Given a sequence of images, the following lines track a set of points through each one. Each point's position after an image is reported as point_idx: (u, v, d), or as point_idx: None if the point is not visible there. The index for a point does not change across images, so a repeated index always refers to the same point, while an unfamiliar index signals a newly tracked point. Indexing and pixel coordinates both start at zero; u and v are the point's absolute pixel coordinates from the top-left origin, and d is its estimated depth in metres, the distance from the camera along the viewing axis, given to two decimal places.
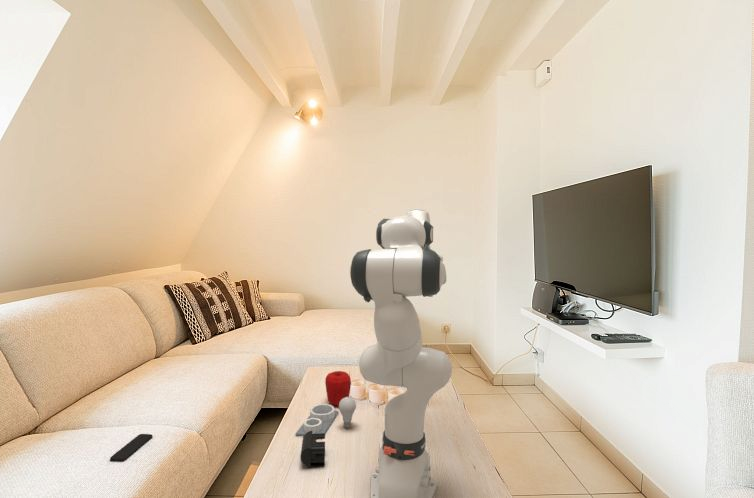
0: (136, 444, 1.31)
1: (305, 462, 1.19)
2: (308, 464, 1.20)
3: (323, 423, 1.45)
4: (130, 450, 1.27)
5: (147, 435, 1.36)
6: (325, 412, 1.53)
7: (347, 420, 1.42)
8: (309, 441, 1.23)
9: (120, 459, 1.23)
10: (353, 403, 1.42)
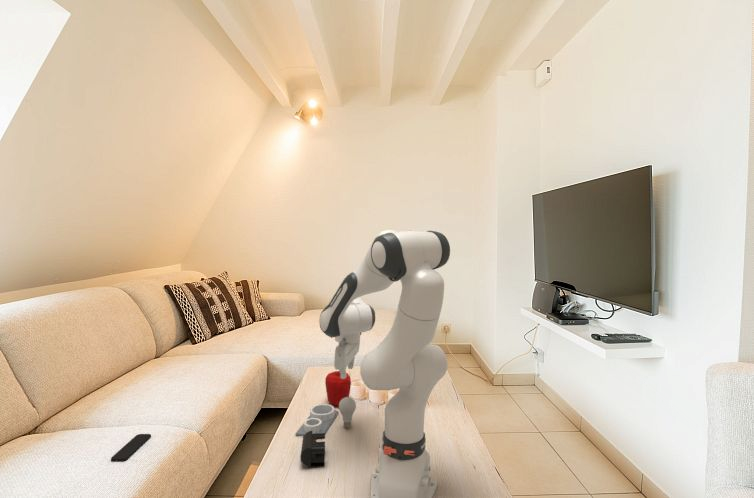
0: (136, 444, 1.31)
1: (305, 462, 1.19)
2: (308, 464, 1.20)
3: (323, 423, 1.45)
4: (130, 450, 1.27)
5: (145, 434, 1.36)
6: (325, 412, 1.53)
7: (347, 420, 1.42)
8: (309, 441, 1.23)
9: (122, 459, 1.23)
10: (353, 403, 1.42)
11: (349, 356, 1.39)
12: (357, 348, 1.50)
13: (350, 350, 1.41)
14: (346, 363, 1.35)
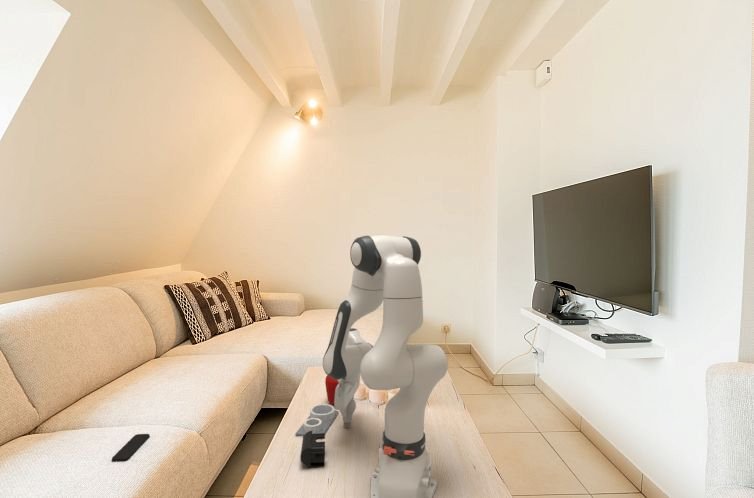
0: (135, 444, 1.31)
1: (305, 462, 1.19)
2: (308, 464, 1.20)
3: (323, 423, 1.45)
4: (131, 450, 1.27)
5: (144, 434, 1.36)
6: (325, 412, 1.53)
7: (347, 420, 1.42)
8: (309, 441, 1.23)
9: (123, 459, 1.23)
10: (353, 403, 1.42)
11: (349, 395, 1.39)
12: (357, 385, 1.50)
13: (350, 388, 1.42)
14: (346, 403, 1.36)
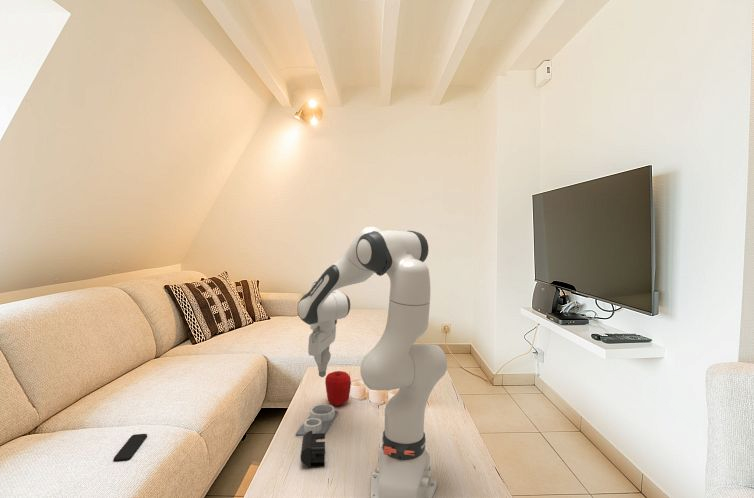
0: (135, 443, 1.31)
1: (305, 462, 1.19)
2: (308, 464, 1.20)
3: (323, 423, 1.45)
4: (131, 449, 1.28)
5: (141, 434, 1.36)
6: (325, 412, 1.53)
7: (322, 369, 1.48)
8: (309, 441, 1.23)
9: (125, 458, 1.23)
10: (328, 353, 1.48)
11: (323, 343, 1.45)
12: (333, 337, 1.56)
13: (325, 338, 1.47)
14: (320, 349, 1.41)
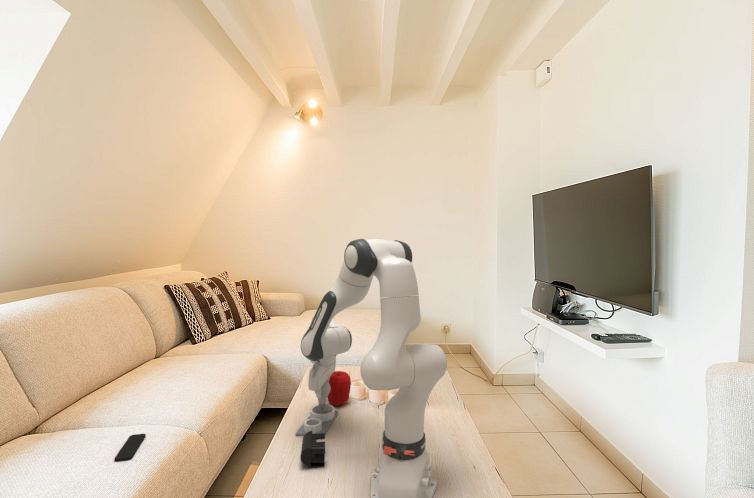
0: (134, 443, 1.31)
1: (305, 462, 1.19)
2: (308, 464, 1.20)
3: (323, 423, 1.45)
4: (132, 449, 1.28)
5: (140, 434, 1.36)
6: (325, 412, 1.53)
7: (322, 402, 1.49)
8: (309, 441, 1.23)
9: (127, 458, 1.23)
10: (328, 385, 1.49)
11: (323, 377, 1.46)
12: (333, 368, 1.57)
13: (325, 371, 1.48)
14: (320, 384, 1.42)
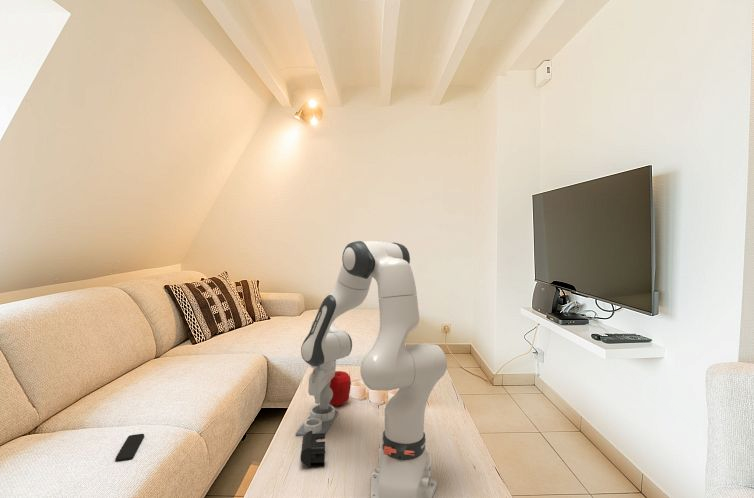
0: (134, 443, 1.31)
1: (305, 462, 1.19)
2: (308, 464, 1.20)
3: (323, 423, 1.45)
4: (132, 449, 1.28)
5: (139, 434, 1.36)
6: None
7: (324, 408, 1.50)
8: (309, 441, 1.23)
9: (128, 457, 1.24)
10: (330, 392, 1.50)
11: (323, 382, 1.46)
12: (333, 373, 1.57)
13: (325, 376, 1.48)
14: (320, 389, 1.42)
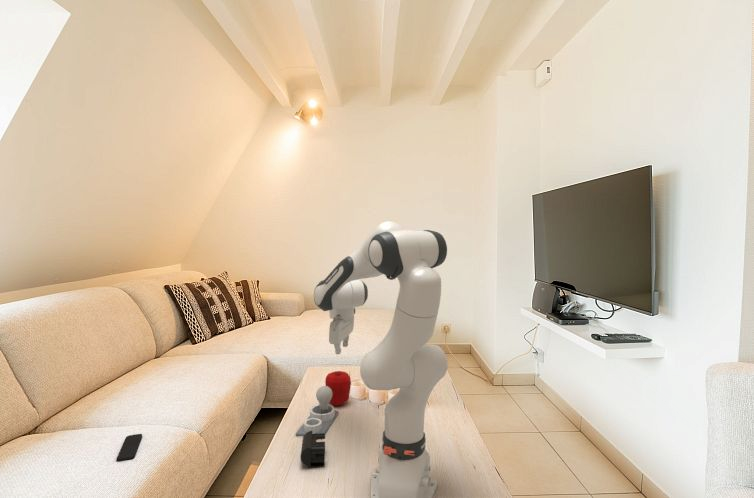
0: (133, 443, 1.31)
1: (305, 462, 1.19)
2: (308, 464, 1.20)
3: (323, 423, 1.45)
4: (132, 449, 1.28)
5: (137, 434, 1.36)
6: None
7: (324, 408, 1.50)
8: (309, 441, 1.23)
9: (129, 457, 1.24)
10: (330, 391, 1.50)
11: (343, 332, 1.43)
12: (351, 327, 1.54)
13: (344, 327, 1.45)
14: (340, 338, 1.39)
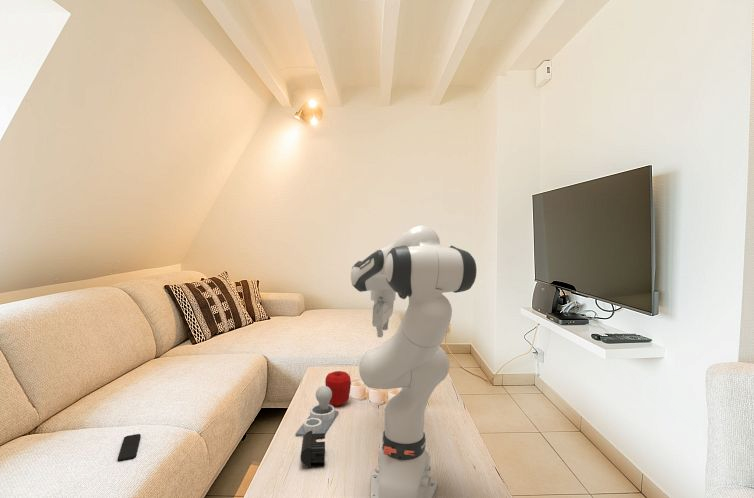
0: (133, 443, 1.31)
1: (305, 462, 1.19)
2: (308, 464, 1.20)
3: (323, 423, 1.45)
4: (133, 448, 1.28)
5: (135, 435, 1.36)
6: None
7: (324, 408, 1.50)
8: (309, 441, 1.23)
9: (131, 457, 1.24)
10: (329, 391, 1.50)
11: (386, 315, 1.39)
12: (391, 310, 1.50)
13: (386, 309, 1.41)
14: (384, 320, 1.36)
